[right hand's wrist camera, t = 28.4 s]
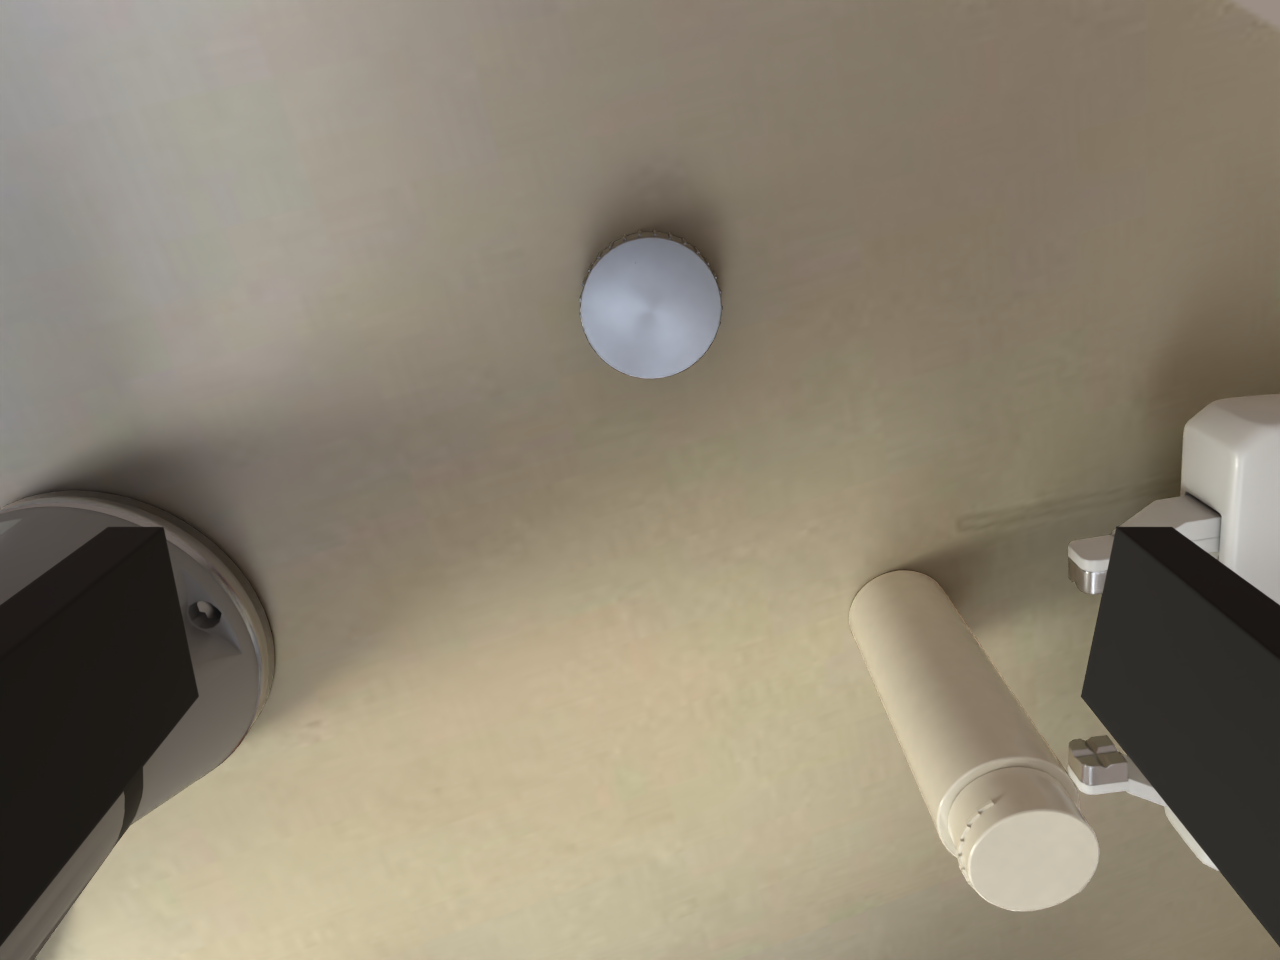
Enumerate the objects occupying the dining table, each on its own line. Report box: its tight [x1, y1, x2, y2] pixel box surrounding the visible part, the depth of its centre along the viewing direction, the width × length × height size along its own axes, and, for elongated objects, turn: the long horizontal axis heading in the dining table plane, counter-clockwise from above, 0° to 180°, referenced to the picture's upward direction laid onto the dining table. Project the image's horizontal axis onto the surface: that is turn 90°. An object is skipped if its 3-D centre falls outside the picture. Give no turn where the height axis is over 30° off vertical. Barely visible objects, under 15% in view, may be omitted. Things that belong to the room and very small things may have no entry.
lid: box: [579, 230, 723, 379], centre depth 36 cm, size 6×6×2 cm
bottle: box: [849, 570, 1099, 911], centre depth 35 cm, size 5×5×15 cm
